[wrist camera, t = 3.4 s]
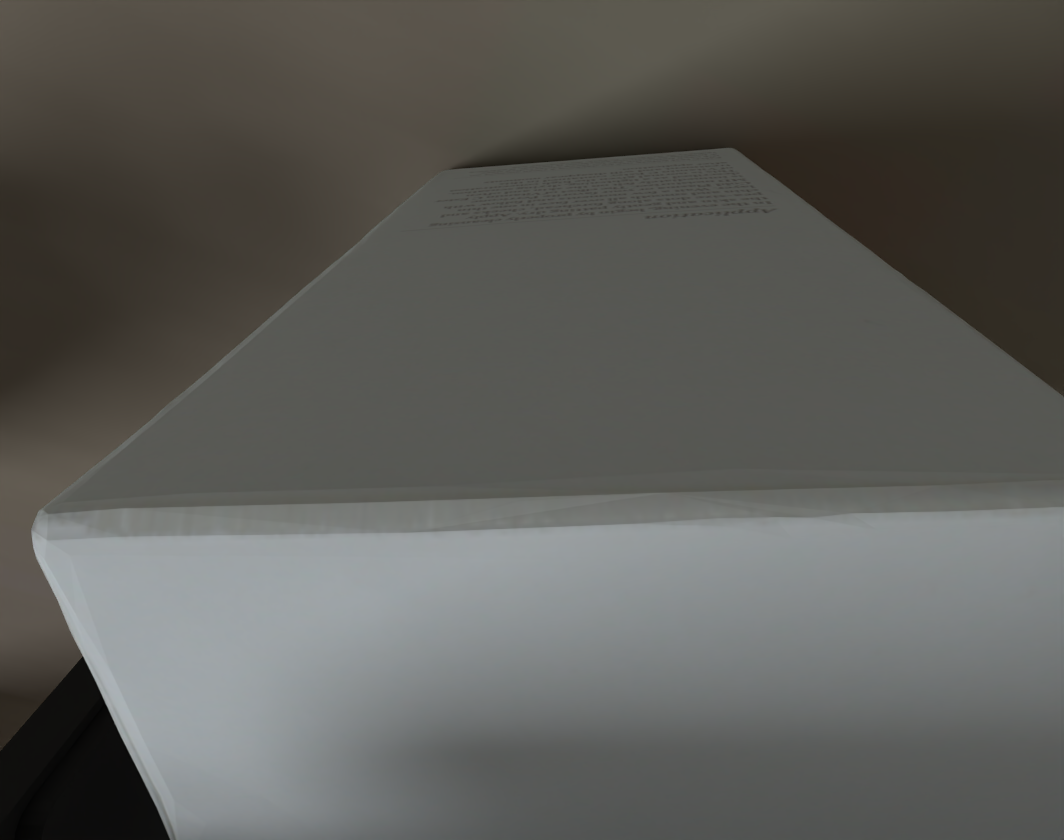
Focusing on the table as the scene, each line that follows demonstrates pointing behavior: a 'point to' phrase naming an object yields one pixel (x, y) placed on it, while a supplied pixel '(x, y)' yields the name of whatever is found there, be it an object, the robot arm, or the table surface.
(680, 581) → the small box
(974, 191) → the table surface
